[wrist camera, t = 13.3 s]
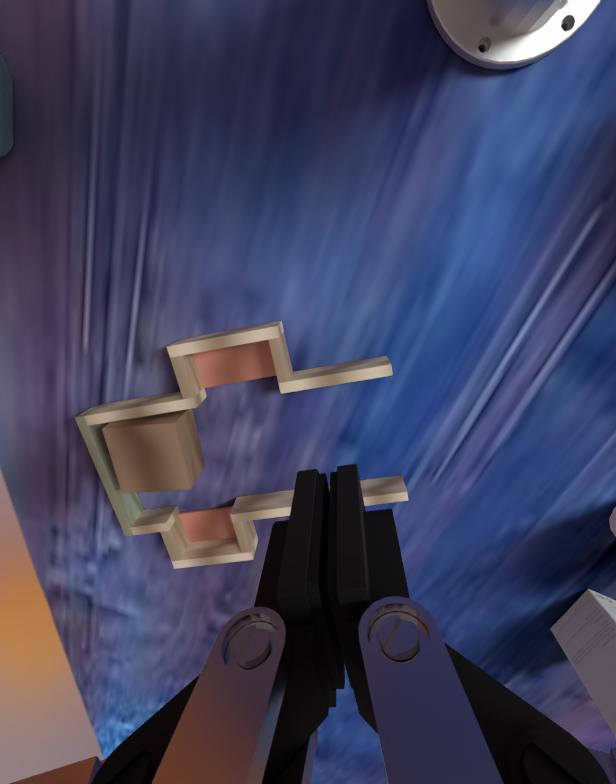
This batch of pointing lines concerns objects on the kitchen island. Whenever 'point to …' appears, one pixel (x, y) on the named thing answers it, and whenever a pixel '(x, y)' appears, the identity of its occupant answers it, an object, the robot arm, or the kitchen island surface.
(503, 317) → the kitchen island surface
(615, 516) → the foam cup
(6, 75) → the flower pot
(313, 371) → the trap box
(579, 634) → the supplement box
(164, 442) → the walnut block
